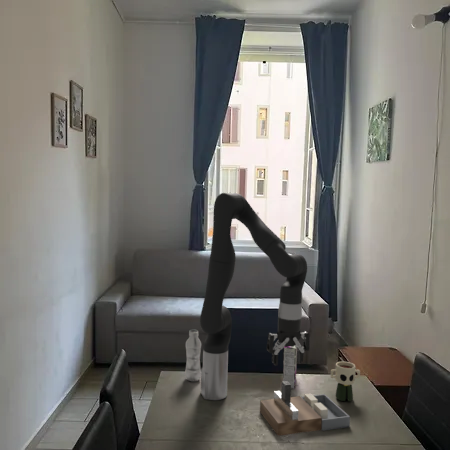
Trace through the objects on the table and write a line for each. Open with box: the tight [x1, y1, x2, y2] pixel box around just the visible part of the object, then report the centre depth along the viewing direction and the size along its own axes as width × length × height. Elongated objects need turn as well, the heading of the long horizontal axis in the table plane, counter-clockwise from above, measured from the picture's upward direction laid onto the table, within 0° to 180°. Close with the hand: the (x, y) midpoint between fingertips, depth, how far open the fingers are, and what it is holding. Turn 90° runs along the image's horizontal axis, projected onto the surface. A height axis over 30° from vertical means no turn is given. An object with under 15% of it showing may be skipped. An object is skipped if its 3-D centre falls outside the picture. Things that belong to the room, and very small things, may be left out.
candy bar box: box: [282, 346, 298, 390], centre depth 181 cm, size 11×5×16 cm, turn 168°
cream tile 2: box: [314, 402, 328, 419], centre depth 151 cm, size 5×5×2 cm
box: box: [300, 393, 351, 432], centre depth 155 cm, size 10×17×4 cm, turn 16°
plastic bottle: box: [184, 329, 202, 382], centre depth 181 cm, size 6×7×20 cm
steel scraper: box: [273, 380, 298, 421], centre depth 151 cm, size 2×15×9 cm, turn 17°
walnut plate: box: [259, 395, 322, 436], centre depth 151 cm, size 15×16×4 cm
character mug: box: [330, 361, 361, 402], centre depth 168 cm, size 11×7×13 cm, turn 92°
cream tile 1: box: [303, 393, 318, 409], centre depth 157 cm, size 5×5×2 cm
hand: (287, 363), depth 150 cm, fingers open, 8 cm apart
